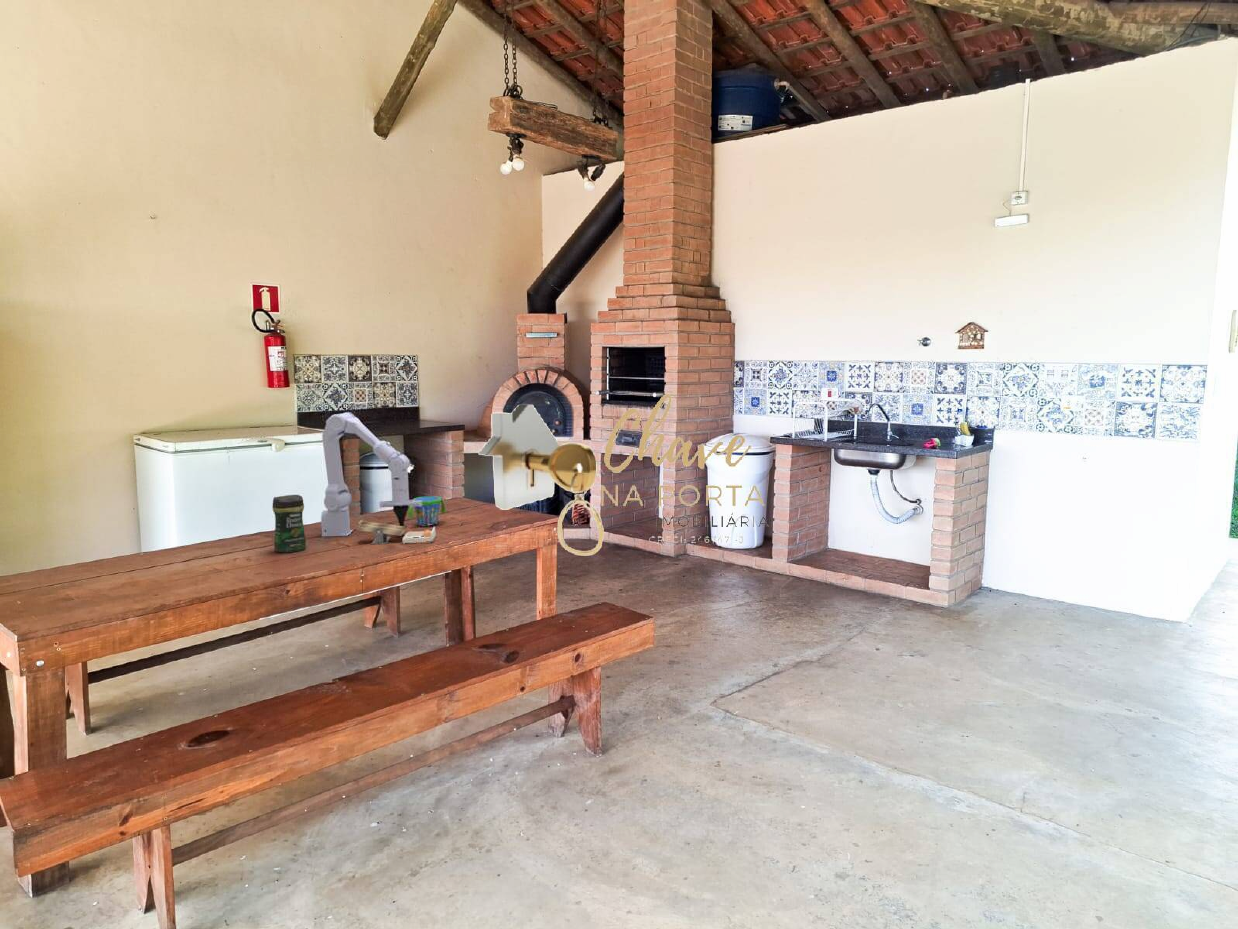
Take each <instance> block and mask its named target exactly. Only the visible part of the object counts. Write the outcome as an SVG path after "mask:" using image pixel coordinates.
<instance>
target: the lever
mask: <svg viewBox="0 0 1238 929" xmlns="http://www.w3.org/2000/svg"><path fill="white" fill-rule="evenodd" d="M407 527H408V525H407V524H406V525H405V524H404V527H403V526H400V524H398V525H394V524H388V523H379V522H373V521H372V522H371V521H365V520H362V519H361V520H360V521H358V522H357V528H356V530H357V531H362V532H370V533H375V530H376V529H383V533H384V534H387V535H394V536H399V537H400V536H403V534H404V533H405V532H406V529H407Z"/></svg>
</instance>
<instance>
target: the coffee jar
mask: <svg viewBox="0 0 1238 929" xmlns="http://www.w3.org/2000/svg"><path fill="white" fill-rule="evenodd" d="M271 509H272V511H273V514H274V518H275V519H274V520H275V521H274V522H275V523H274V524H275V525H274V526H275V527H274V528H275V529H274V542H273V544H274V548H273V549H274V550H275V551H276V552H277V553H292V552H293V553H294V552H299V551H303V550H305V549H306V548H307V541H306V535H305V528H304V522H303V521H304V520H303V512H304V509H305V503H304V498H303V496H302V495H299V494H287V495H281V496H274V497H273V499H272V508H271Z"/></svg>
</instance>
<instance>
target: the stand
mask: <svg viewBox="0 0 1238 929" xmlns="http://www.w3.org/2000/svg"><path fill="white" fill-rule="evenodd" d="M374 534H375V538H374V540H373V541H372V542H371V545H387V544H388V543H389V542H390V540H391V539H392V538H391V536H388V534H384V533H383V529H376V530H375V532H374ZM390 538H391V539H390ZM387 542H388V543H387ZM378 543H380V544H378ZM382 543H383V544H382Z"/></svg>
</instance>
